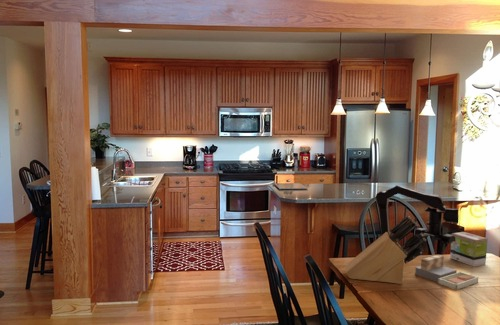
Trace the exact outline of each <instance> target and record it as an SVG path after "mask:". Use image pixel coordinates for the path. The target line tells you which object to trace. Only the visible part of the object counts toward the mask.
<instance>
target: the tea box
mask: <svg viewBox="0 0 500 325" xmlns="http://www.w3.org/2000/svg"><path fill="white" fill-rule="evenodd" d="M451 235H454V236H455V241H454V242H452V243H450V254H449V256H450V257H449V259H452V260H455V261H458V262H459V263H463V264H466V265H469V266H470V267H472V268H473V267H479V266H483V265H486V262H487V252H488V251H487V249H488V238H487V237H483V236H481V235H477V234H472V233H469V232H465V231H460V232H452V233H451Z"/></svg>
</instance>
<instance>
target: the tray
mask: <svg viewBox="0 0 500 325" xmlns="http://www.w3.org/2000/svg"><path fill="white" fill-rule="evenodd" d="M461 275H467V276H473V279H470V280H467V281H464V282H461V283H458V284H455V283H452V282H449V281H448V280H449V279H452V278H457V277H458V276H461ZM477 283H479V276H475V275H473V274H468V273H466V272H462V271H458V272H457V273H454V274H451V275H448V276H445V277H441V278H438V282H437V284H438V285H441V286H443V287H447V288H449V289H453V290H455V291H457V290H461V289H463V288H467V287H469V286H471V285H474V284H477Z"/></svg>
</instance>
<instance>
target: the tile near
mask: <svg viewBox="0 0 500 325" xmlns="http://www.w3.org/2000/svg"><path fill="white" fill-rule="evenodd" d="M448 281H449V282H452V283H455V284H458V283H461V282H464V281H463V280H460V279H457V278H452V279H449V280H448Z"/></svg>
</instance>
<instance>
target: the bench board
mask: <svg viewBox="0 0 500 325" xmlns="http://www.w3.org/2000/svg"><path fill="white" fill-rule="evenodd" d="M414 272H415V273H414V274H415V276H416V275H417V276H419V277H422V278H425V279H427V280H431V281H434V282H437V283H438V278H441V277H445V276H448V275H451V274H454V273H457V269H454V268H451V267H447V266H444V265H443V266H441V267H438V268H435V269H431V270H428V271H425V270H422V269H421V265H419V266H416V267H415V270H414Z"/></svg>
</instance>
